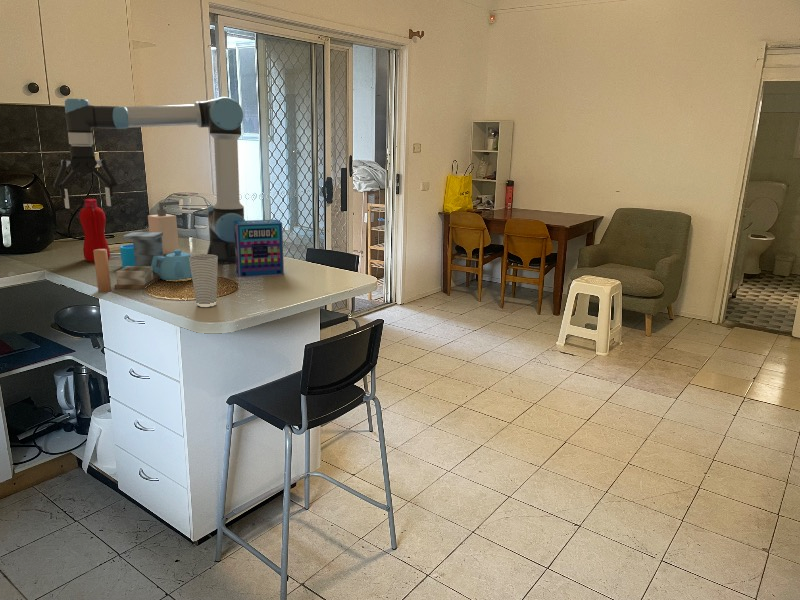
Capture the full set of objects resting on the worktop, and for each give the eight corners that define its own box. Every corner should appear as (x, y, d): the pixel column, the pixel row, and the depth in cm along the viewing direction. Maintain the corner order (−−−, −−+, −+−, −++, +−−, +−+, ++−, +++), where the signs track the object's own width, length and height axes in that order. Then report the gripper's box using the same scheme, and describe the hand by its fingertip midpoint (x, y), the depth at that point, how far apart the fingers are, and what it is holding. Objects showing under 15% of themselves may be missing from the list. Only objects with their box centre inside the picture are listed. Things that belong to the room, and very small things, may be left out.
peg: (113, 289, 202) (108, 249, 198) (108, 292, 198) (103, 251, 195) (101, 289, 202) (96, 248, 198) (96, 292, 198) (91, 251, 194)
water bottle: (88, 263, 238) (80, 201, 232) (83, 259, 247) (75, 198, 240) (113, 261, 244) (106, 200, 237) (107, 256, 252) (100, 197, 245)
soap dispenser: (161, 254, 259) (157, 203, 252) (150, 252, 264) (146, 202, 257) (187, 250, 268) (183, 201, 262) (176, 248, 273) (172, 200, 267)
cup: (208, 310, 181) (205, 260, 177) (186, 307, 184) (182, 258, 180) (226, 303, 189) (223, 255, 185) (204, 300, 192) (201, 253, 188)
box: (279, 269, 236) (277, 219, 230) (283, 274, 228) (282, 222, 222) (236, 272, 230) (233, 220, 224) (239, 277, 222) (236, 224, 216)
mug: (126, 269, 230) (124, 249, 228) (119, 266, 236) (117, 245, 234) (157, 265, 238) (155, 245, 236) (150, 262, 244) (148, 242, 242)
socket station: (166, 275, 223) (162, 232, 218) (145, 289, 203) (141, 242, 199) (136, 275, 222) (132, 232, 218) (113, 288, 203) (107, 241, 199)
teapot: (179, 272, 229) (177, 244, 226) (210, 276, 223) (208, 248, 220) (148, 280, 215) (145, 251, 212) (180, 285, 210) (178, 255, 207)
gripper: (116, 145, 217) (122, 203, 223) (38, 144, 201) (46, 207, 207) (122, 146, 211) (128, 206, 217) (43, 145, 196) (51, 210, 201)
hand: (88, 207), depth 212 cm, fingers open, 13 cm apart
